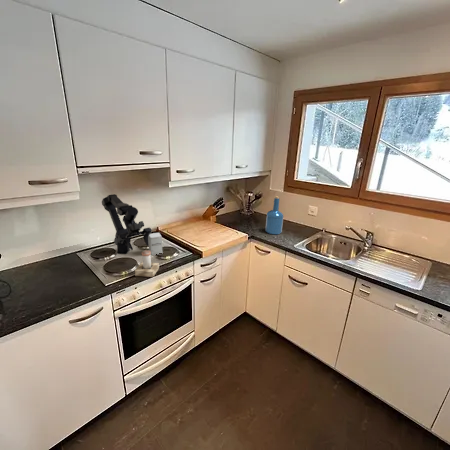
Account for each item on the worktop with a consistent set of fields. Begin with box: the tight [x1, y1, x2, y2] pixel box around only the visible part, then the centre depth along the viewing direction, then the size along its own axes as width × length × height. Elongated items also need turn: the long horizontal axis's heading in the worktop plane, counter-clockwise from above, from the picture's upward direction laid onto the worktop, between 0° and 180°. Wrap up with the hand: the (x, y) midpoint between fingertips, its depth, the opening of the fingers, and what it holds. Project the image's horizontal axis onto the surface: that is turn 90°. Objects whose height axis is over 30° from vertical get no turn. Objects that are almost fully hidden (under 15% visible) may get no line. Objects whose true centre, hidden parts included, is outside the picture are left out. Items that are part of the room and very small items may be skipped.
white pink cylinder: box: [141, 249, 152, 269], centre depth 143 cm, size 5×5×12 cm
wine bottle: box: [264, 195, 284, 235], centre depth 207 cm, size 14×13×30 cm
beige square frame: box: [134, 261, 160, 278], centre depth 144 cm, size 10×10×4 cm
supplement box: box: [148, 232, 163, 256], centre depth 167 cm, size 7×7×13 cm
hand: (140, 247), depth 145 cm, fingers open, 9 cm apart
